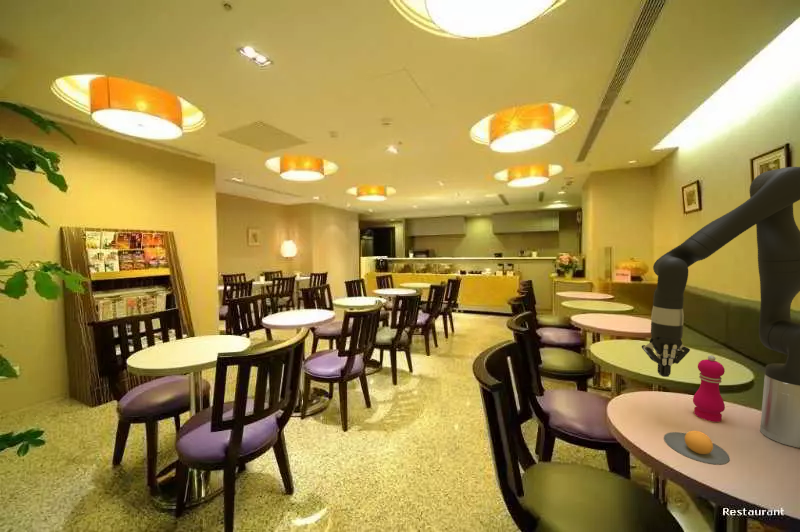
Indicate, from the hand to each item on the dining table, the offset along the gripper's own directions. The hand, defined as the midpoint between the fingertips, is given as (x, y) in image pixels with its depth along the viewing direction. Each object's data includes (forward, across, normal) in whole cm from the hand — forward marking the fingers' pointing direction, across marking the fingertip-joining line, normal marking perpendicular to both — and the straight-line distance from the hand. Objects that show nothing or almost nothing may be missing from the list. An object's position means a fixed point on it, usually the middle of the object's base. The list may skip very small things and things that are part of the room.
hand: (663, 375), depth 98 cm
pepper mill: (+14, +15, +2) cm, 21 cm away
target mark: (+14, -1, -14) cm, 20 cm away
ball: (+11, -2, -16) cm, 20 cm away
